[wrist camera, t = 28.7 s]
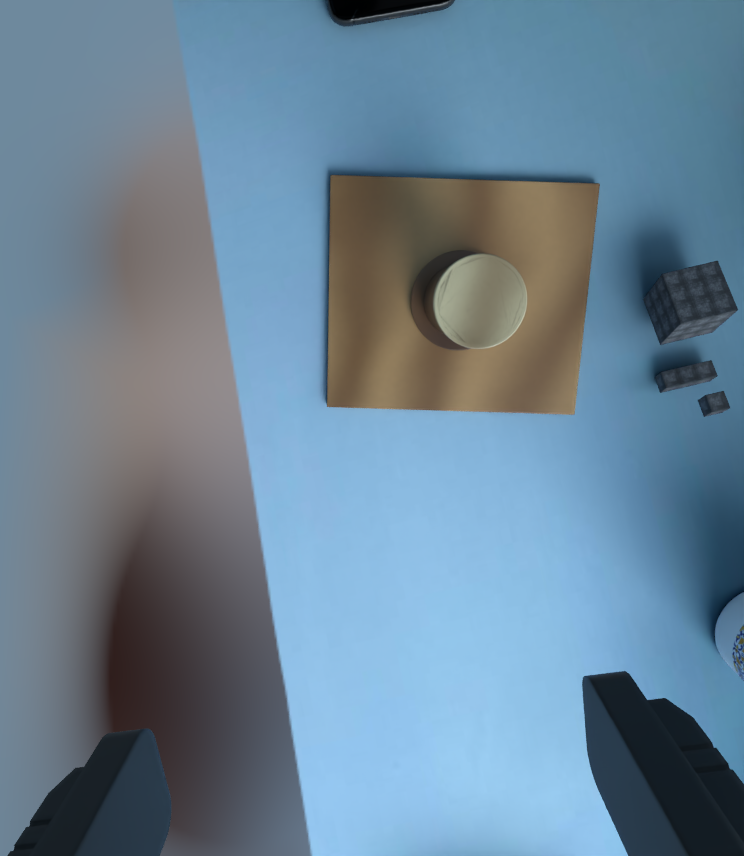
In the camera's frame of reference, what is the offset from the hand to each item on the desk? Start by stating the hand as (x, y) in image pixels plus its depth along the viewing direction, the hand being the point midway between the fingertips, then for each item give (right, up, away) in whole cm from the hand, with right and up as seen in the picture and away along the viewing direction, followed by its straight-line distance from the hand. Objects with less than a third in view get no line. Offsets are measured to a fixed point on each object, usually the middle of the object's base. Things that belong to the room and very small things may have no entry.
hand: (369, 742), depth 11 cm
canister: (+5, +14, +25) cm, 29 cm away
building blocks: (+19, +11, +26) cm, 35 cm away
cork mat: (+5, +14, +26) cm, 30 cm away
